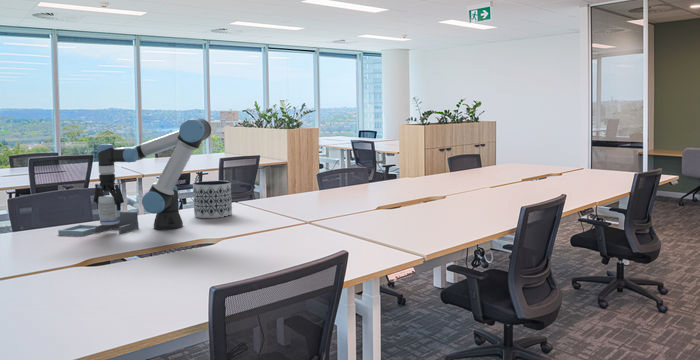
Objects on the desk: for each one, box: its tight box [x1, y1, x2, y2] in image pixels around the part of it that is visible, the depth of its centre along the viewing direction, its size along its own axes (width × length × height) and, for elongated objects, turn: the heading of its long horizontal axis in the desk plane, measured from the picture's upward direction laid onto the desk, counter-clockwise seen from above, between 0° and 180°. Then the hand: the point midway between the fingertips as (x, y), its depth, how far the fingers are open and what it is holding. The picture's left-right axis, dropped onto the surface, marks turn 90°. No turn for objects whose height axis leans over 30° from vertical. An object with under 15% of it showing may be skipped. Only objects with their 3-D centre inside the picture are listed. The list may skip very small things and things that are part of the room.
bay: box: [95, 211, 139, 235], centre depth 284 cm, size 14×15×9 cm
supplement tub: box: [98, 194, 120, 225], centre depth 279 cm, size 10×10×15 cm
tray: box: [57, 224, 99, 237], centre depth 281 cm, size 15×15×2 cm
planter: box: [192, 180, 233, 219], centre depth 325 cm, size 22×22×20 cm
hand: (109, 216), depth 279 cm, fingers closed on supplement tub, 10 cm apart
